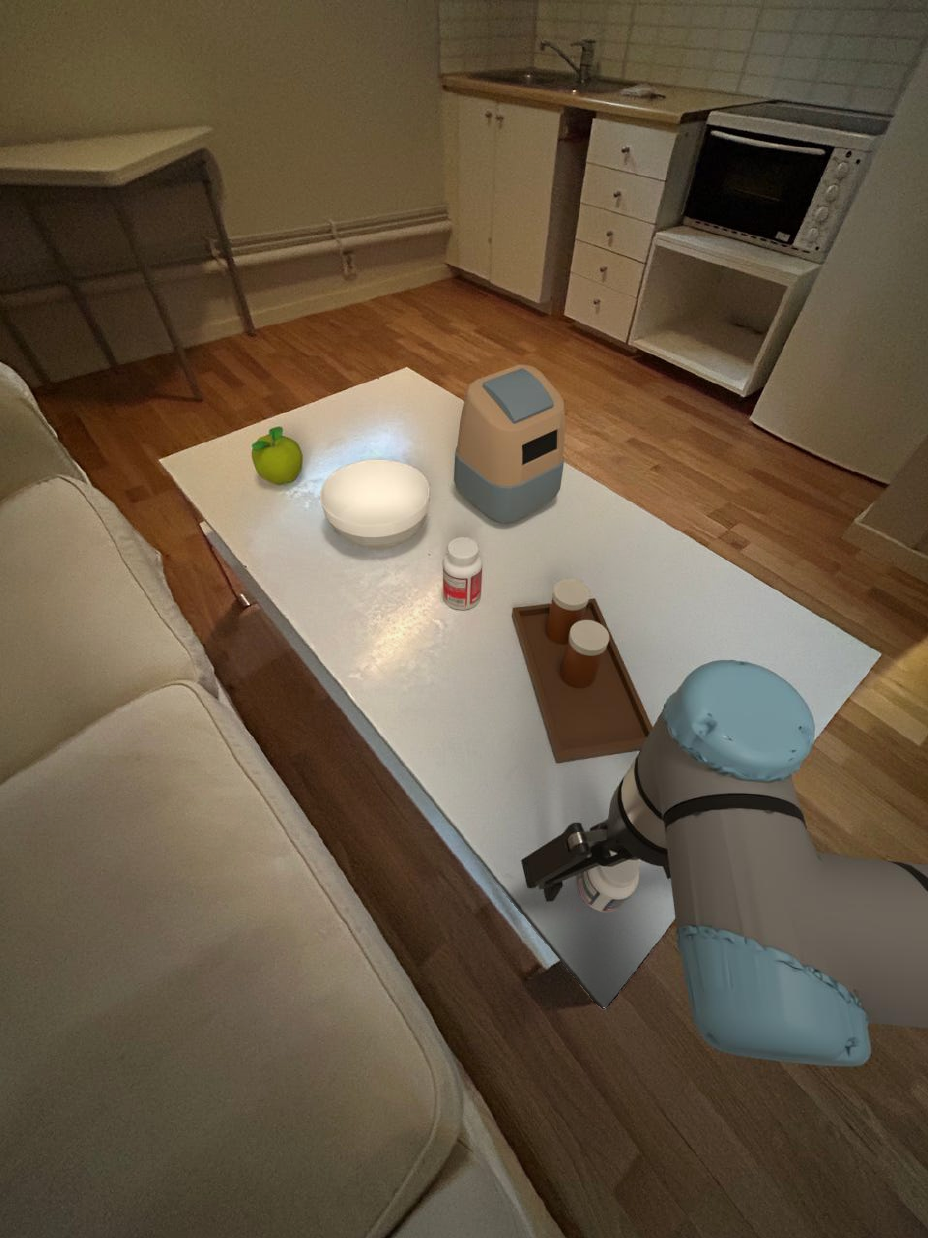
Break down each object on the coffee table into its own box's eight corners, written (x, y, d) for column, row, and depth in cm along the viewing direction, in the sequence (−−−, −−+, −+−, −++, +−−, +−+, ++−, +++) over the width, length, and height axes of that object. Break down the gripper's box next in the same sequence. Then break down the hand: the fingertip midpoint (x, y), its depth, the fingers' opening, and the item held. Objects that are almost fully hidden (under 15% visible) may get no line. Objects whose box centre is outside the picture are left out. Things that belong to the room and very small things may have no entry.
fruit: (250, 487, 107) (235, 442, 99) (278, 462, 112) (265, 417, 105) (289, 499, 105) (277, 453, 97) (316, 473, 110) (306, 428, 103)
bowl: (408, 488, 108) (406, 449, 101) (448, 547, 97) (448, 507, 90) (315, 513, 102) (306, 473, 95) (346, 577, 91) (338, 538, 85)
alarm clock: (501, 537, 99) (513, 419, 81) (445, 492, 107) (445, 377, 89) (565, 502, 106) (588, 387, 88) (508, 463, 114) (519, 350, 96)
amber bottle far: (582, 642, 83) (595, 602, 76) (549, 647, 82) (559, 606, 75) (572, 617, 86) (583, 576, 79) (540, 621, 85) (549, 580, 78)
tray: (654, 748, 72) (659, 740, 70) (556, 763, 70) (558, 756, 69) (592, 606, 88) (595, 598, 87) (511, 616, 87) (512, 607, 85)
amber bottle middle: (600, 686, 78) (615, 647, 71) (565, 691, 77) (576, 652, 70) (588, 657, 81) (601, 617, 74) (555, 662, 80) (565, 622, 73)
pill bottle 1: (474, 580, 91) (476, 530, 83) (485, 606, 88) (489, 556, 79) (438, 588, 90) (437, 537, 82) (448, 614, 86) (448, 564, 78)
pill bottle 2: (629, 875, 62) (652, 850, 55) (618, 922, 58) (640, 901, 52) (585, 854, 63) (601, 828, 56) (571, 899, 60) (587, 876, 53)
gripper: (786, 737, 46) (698, 823, 63) (501, 783, 43) (487, 860, 59) (839, 824, 41) (729, 892, 58) (524, 883, 38) (502, 937, 55)
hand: (606, 876), depth 59 cm, fingers open, 13 cm apart
